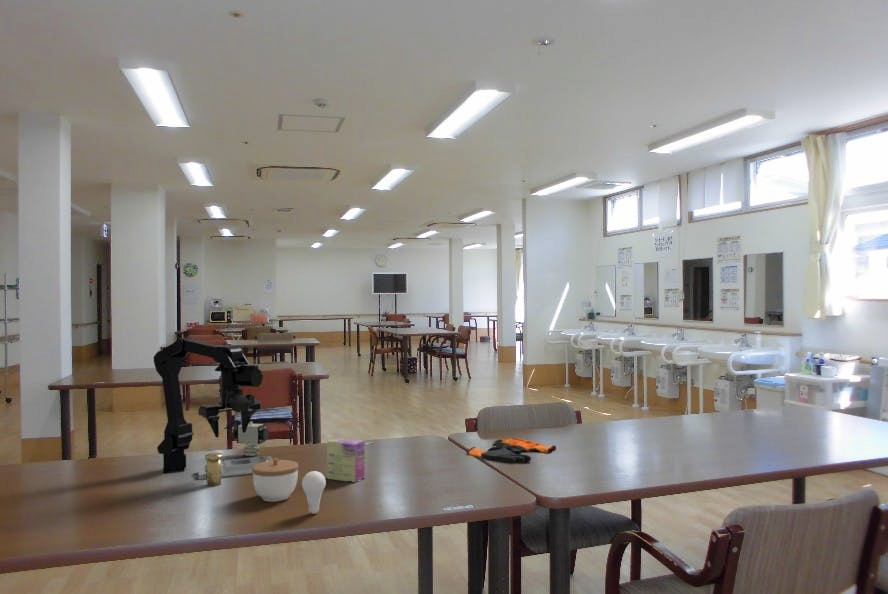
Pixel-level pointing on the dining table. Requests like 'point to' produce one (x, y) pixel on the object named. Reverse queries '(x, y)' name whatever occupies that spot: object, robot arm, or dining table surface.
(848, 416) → the dining table surface
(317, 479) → the lightbulb
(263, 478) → the lidded bowl
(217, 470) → the brass knob
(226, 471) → the silver plate
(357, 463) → the box
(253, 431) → the pneumatic valve
